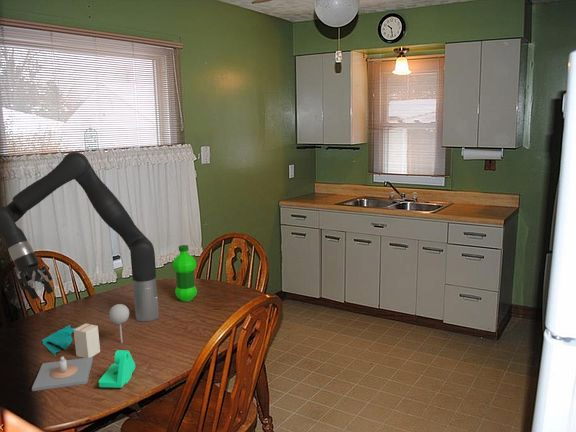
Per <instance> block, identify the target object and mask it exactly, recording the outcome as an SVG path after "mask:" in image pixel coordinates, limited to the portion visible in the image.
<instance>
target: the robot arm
mask: <svg viewBox="0 0 576 432" xmlns="http://www.w3.org/2000/svg"><path fill="white" fill-rule="evenodd" d="M73 180H75V181H76V182H77V183H78V185H80V187H81V188H82V190H83V191H84V193H85V194H86V196H87V199H88V200H89V201H90V204H91V205H92V207H93V208H94V210H95V212H96V213H97V214H98V215H99V217H100V218H101V219H102V220H103V221H104V223H105V224H106V225H107V226H108V227H109V228H111V229H112V230H113V231H115V232H116V234H118V236H119V237H121V239H122V241H124V243H125V245H126V247H127V248H128V249H129V251H130V264H131V275H132V276H131V277H132V286H133V287H132V288H133V289H132V290H133V300H134V310H135V311H134V313H135V314H134V315H135V320H136V321H137V322H138V321H139V322H152V321H155V320H158V319H160V315H159V314H160V313H159V312H160V311H159V298H158V288H157V269H156V255H155V248H154V243H152V242H151V240H150V239H148V238H147V236H146V235H145V234H144V233H143V232H142V231H141V230H140V229H139V228H138V227H137V225H136V224H135V222H134V221H133V219H132V218H131V216H130V214H129V213H128V211H127V210H126V208H125V207H124V206H123V203H122V202H120V200H119V199H118V198H117V196H116V195H115V194H114V193H113V192H112V191H111V190H110V188H109V187H108V186H107V185H106V184H105V182H103V181H102V180H101V178H100V177H99V176H98V174H97V173H96V171H95V170H94V169H93V167H92V165H91V163H90V162H89V160H88V158H87V157H86V155H84V154H83V153H81V152H79V151H72V152H69V153H67V154H66V155H65V156H64V157H63V158H62V160H61V161H60V162H59V163H58V164H57V165H56V166H55V167H54V168H53V169H52V170H51V171H50V172H48V173H47V174H46V175H44V176H43V177H41V178H40V179H38V180H36V181H33V183H31V184H29V185H28V186H26V187H25V188H24V189H22V190H20V191H19V192H18V193H16V194H15V195H14V196H13V197H12V201H10V203H8V204H7V205H6V206H3V205H0V237H1V238H2V240H3V242H4V244H5V246H6V248H7V251H8V252H9V253H8V254H9V256H10V258H11V260H12V262H13V264H14V265H15V268H16V270H17V272H18V273H17V274H16V275H15V278H16V280H17V282H18V285H19V288H20V289H21V290H22V291H27V293H28V295H29V297H30V298H31V299H32V300H36V299H37V298H39V295H38V293H37V291H36V289H35V287H34V283H36V282H37V283H40V284H42V285H43V288H44V290H45V292H46V294H47V295H49V294H52V293H53V292H54V289H53V287H52V286H51V281H52V280H53V278H52V275H51V274H50V272H49V270H48V269H47V267H46V265H43V266H42V267H40V266H39V263H40V261H39V258H38V257H37V255H36V253H35V251H34V249H33V247H32V245H31V244H30V242H29V241H28V239H27V236H26V235H25V233H24V231H23V230H22V228H20V227H18V226H17V224H16V223H17V222H18V221H19V220H21V218H22V217H23V216H24V215H25V214H26V213H27V212H28V211H29V210H30V211H31V209H33V208H34V207H35V206H37V205H38V204H39V203H41V202H42V201H44V200H45V199H46V198H47V197H49V196H50V195H51V194H52V193H54V192H55V191H56V190H57V189H59V188H61V187H62V186H64V185H65V184H68V183H70V182H71V181H73Z"/></svg>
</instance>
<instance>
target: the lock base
mask: <svg viewBox="0 0 576 432" xmlns="http://www.w3.org/2000/svg"><path fill="white" fill-rule="evenodd" d="M93 358H94V356H93V357H90V358H83V357H81V358H75V359H68V360H67V358H65V356H60V358H59V360H58V361H51V362H44V363H43V362H42V365H41V366H40V368H39V371H38V373H37V374H36V375H37V376H36V378H35V379H34V382H33V384H32V387H31V391H32V392H36V391H43V390H50V389H57V388H59V389H60V388H66V387H73V386H81V385H86V384H88V383H89V382H88V381H89V377H90V373H91V369H92V365H93V361H94V359H93Z"/></svg>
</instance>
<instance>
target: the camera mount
mask: <svg viewBox="0 0 576 432" xmlns="http://www.w3.org/2000/svg"><path fill="white" fill-rule="evenodd" d="M135 370H136V362H135V360H134V359H133V356H132V354H131V352H130V351H129V350H124V349H123V350H122V349H120V350H119V349H117V350H116V351H115V354H114V363H112V364H111V365H110V366H109V368H108V369H107V370H106V371H105V372H104V374H103V375H102V376H101V377H100V379H99V380H98V387H100V388H114V389H115V388H116V389H118V388H119V389H120V388H121V389H122V388H123V386H125V385H127V384H128V383H129V381H130V380H131V378H132V376H133V375H132V374H133V372H134V371H135Z"/></svg>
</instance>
